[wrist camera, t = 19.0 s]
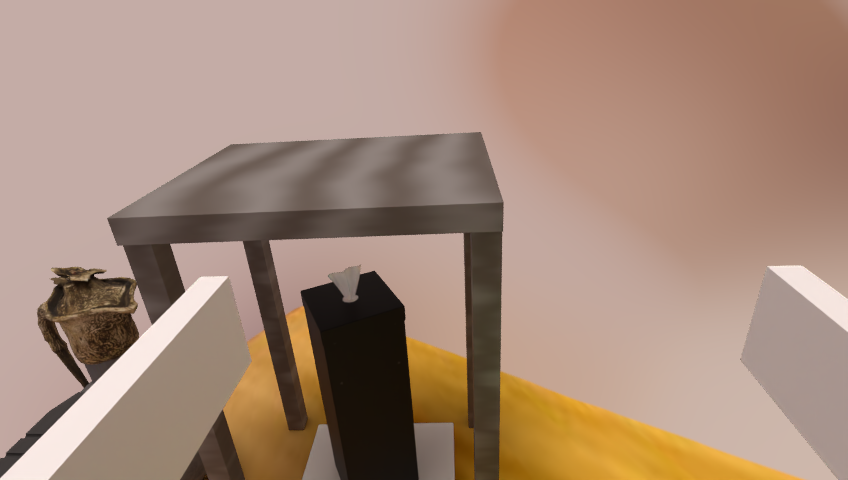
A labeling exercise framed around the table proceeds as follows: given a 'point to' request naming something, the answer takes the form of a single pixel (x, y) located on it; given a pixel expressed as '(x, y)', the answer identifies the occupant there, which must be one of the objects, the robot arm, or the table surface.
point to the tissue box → (363, 375)
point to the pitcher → (94, 327)
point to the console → (328, 218)
